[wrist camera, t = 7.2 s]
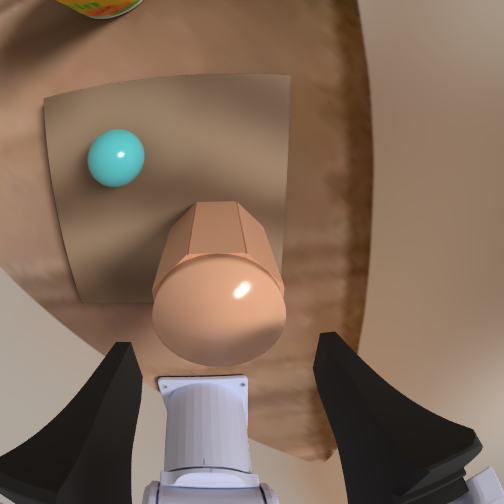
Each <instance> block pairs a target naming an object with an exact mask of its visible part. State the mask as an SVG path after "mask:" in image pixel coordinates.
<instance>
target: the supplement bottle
mask: <svg viewBox="0 0 504 504" xmlns="http://www.w3.org/2000/svg"><path fill="white" fill-rule="evenodd" d="M56 1H58V2H60V3H62V4H64V5H66V6H68V7H70V8H72V9H74V10H76V11H77V12H79V13H81V14H83V15H85V16H88V17H90V18H95V19H106V18H112V17H116V16H119V15H122V14H124V13H126V12H128V11H130V10H132V9H133V8H135V7H136V6H137V5H139V4H140V3H141V2H142V1H143V0H56Z"/></svg>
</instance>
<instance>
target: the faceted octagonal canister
mask: <svg viewBox="0 0 504 504" xmlns="http://www.w3.org/2000/svg"><path fill="white" fill-rule="evenodd" d="M152 294H153V299H154V305H153V310H152V319H153V325H154V328H155V331H156V333H157V335H158V337H159V338H160V340H161V341H162V342H163V344H164V345H165V346H166V347H167V348H168V349H169V350H171V351H172V352H173V353H175V354H176V355H177V356H179V357H181V358H183V359H185V360H188V361H190V362H193V363H196V364H200V365H205V366H217V367H222V366H232V365H237V364H241V363H245V362H247V361H250V360H252V359H254V358H256V357H258V356H260V355H261V354H263V353H265V352H266V351H267V350H268V349H270V348H271V347H272V346H273V345H274V344H275V342H276V341H277V340H278V338H279V337H280V335H281V333H282V331H283V328H284V325H285V321H286V309H285V304H284V301H283V296H284V284H283V281H282V278H281V275H280V273H279V270H278V267H277V264H276V261H275V258H274V255H273V253H272V250H271V247H270V244H269V241H268V239H267V236H266V233H265V230H264V227H263V226H262V225H261V224H260V223H259V222H258V221H257V220H256V219H255V218H254V217H253V216H252V215H251V214H249V213H248V212H247V211H246V210H245V209H244V208H243V207H242V206H241V205H240V204H239V203H238V202H236V201H222V202H197V203H195V204H194V205H193V206H192V207H191V208H190V209H189V210H188V211H187V212H186V213H185V214H184V215H183V216H182V217H181V218H180V219H179V220H178V221H177V222H176V223H175V224H174V225H173V226H172V227H171V228H170V231H169V234H168V238H167V241H166V244H165V247H164V251H163V254H162V257H161V260H160V264H159V267H158V271H157V274H156V278H155V281H154V285H153V288H152Z"/></svg>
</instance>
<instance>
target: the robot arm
mask: <svg viewBox="0 0 504 504" xmlns="http://www.w3.org/2000/svg"><path fill="white" fill-rule="evenodd" d="M313 371H314V375H315V380H316V384H317V389H318V392H319V395H320V398H321V400H322V403H323V406H324V409H325V411H326V414H327V417H328V419H329V422H330V425H331V428H332V430H333V433H334V436H335V439H336V443H337V447H338V451H339V455H340V460H341V464H342V469H343V474H344V479H345V486H346V492H347V498H348V504H504V491H503V489H502V487H501V485H500V482H499V480H498V478H497V476H496V474H495V472H494V470H493V468H492V467H491V466H490V467H488V468H486V469H485V470H483V471H481V472H480V473H478V474H476V475H475V476H473V477H471V478H470V479H468V480H467V481H465V480H464V478H463V476H465V475H466V472H465V470H464V467H465V466H466V465H467V464H468V463H469V462H470V461H471V460H472V459H474V458H475V457H476V456H477V455H478V454H479V453H480V452H481V450H482V447H483V446H482V444H481V442H480V440H479V439H478V437H477V435H476V433H475V432H474V430H473V429H471V428H468V427H465V426H462V425H460V424H457V423H454V422H452V421H449V420H447V419H445V418H443V417H440V416H438V415H436V414H434V413H432V412H430V411H429V410H427V409H425V408H423V407H422V406H420V405H418V404H416V403H415V402H413V401H412V400H410V399H409V398H407V397H406V396H405V395H403V394H402V393H400V392H399V391H398V390H396V389H395V388H394V387H392V386H391V385H389V384H388V383H387V382H386V381H385V380H384V379H383V378H381V377H380V376H379V375H378V374H377V373H376V372H375V371H374V370H372V368H370V367H369V366H368V365H367V364H366V363H365V362H364V361H363V360H362V359H361V358H360V357H359V356H358V355H357V354H356V353H355V352H354V351H353V350H352V349H351V348H350V347H349V346H348V344H347V343H346V342H345V341H344V340H343V339H342V338H341V337H340V336H339V335H338V334H337V333H336V332H327V333H320V337H319V342H318V347H317V351H316V356H315V361H314V366H313ZM142 379H143V376H142V374H141V371H140V368H139V365H138V362H137V359H136V356H135V353H134V350H133V347H132V344H131V342H116V343H115V344H114V345H113V347H112V348H111V350H110V351H109V352H108V354H107V355H106V357H105V358H104V359H103V361H102V362H101V363H100V365H99V366H98V368H97V369H96V370H95V372H94V373H93V374H92V376H91V377H90V378H89V380H88V381H87V382H86V384H85V385H84V386H83V387H82V388H81V390H80V391H79V392H78V393H77V395H76V396H75V397H74V398H73V399H72V400H71V401H70V402H69V404H68V405H67V406H66V407H65V408H64V409H63V410H62V411H61V412H60V413H59V414H58V415H57V416H56V417H55V418H54V419H53V420H52V421H51V422H49V423H48V424H47V425H46V426H45V427H44V428H42V429H41V430H40V431H39V432H38V433H36V434H35V435H34V436H33V437H31V438H30V439H28V440H27V441H25V442H24V443H23V444H21V445H20V446H18V447H16V448H15V449H13V450H11V451H9V452H8V453H6V454H4V455H2V456H1V457H0V494H2V495H3V496H5V497H6V498H8V499H9V500H11V501H12V502H14V503H15V504H132V497H131V458H132V448H133V441H134V436H135V430H136V424H137V418H138V414H139V408H140V403H141V394H142ZM158 385H159V388H160V391H161V394H162V397H163V400H164V403H165V406H166V408H167V411H168V412H167V427H166V441H165V459H164V461H165V462H164V471H162V472H161V474H160V482H159V481H152V482H151V483H150V484H149V485H148V486H147V487H146V488H145V490H144V494H143V502H142V504H279V500H278V498H277V495H276V493H275V492H274V490H273V489H271V488H270V487H269V486H268V485H267V484H265V483H260V484H259V480H258V475H257V474H252V467H251V460H250V452H249V444H248V436H247V427H248V378H247V377H246V376H244V375H236V376H215V377H161V378H159V379H158ZM0 504H3V503H0Z"/></svg>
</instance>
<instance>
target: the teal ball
mask: <svg viewBox="0 0 504 504" xmlns="http://www.w3.org/2000/svg"><path fill="white" fill-rule="evenodd" d="M144 158H145V153H144V148H143V145H142V143H141V141H140V140H139V138H138V137H137V136H136V135H135V134H133V133H132V132H130V131H128V130H125V129H111V130H108V131H106V132H104V133H102V134H101V135H99V136H98V137H97V138H96V139H95V140H94V142H93V143H92V145H91V147H90V149H89V152H88V167H89V170H90V173H91V174H92V176H93V177H94V179H95V180H96V181H98V182H99V183H101V184H102V185H105V186H108V187H120V186H124V185H126V184H128V183H130V182H131V181H133V180H134V179H135V178H136V177H137V176H138V174H139V173H140V171H141V169H142V167H143V164H144Z"/></svg>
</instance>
